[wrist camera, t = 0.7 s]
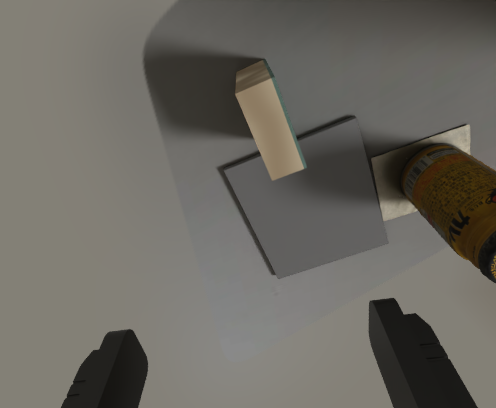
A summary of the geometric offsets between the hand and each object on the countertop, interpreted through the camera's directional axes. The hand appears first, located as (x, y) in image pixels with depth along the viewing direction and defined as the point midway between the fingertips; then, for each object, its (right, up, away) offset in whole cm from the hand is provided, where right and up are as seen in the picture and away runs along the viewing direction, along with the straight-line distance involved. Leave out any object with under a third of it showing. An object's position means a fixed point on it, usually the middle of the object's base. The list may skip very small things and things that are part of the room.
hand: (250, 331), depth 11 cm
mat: (+6, +4, +21) cm, 22 cm away
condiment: (+16, +7, +20) cm, 26 cm away
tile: (+1, +13, +16) cm, 20 cm away
